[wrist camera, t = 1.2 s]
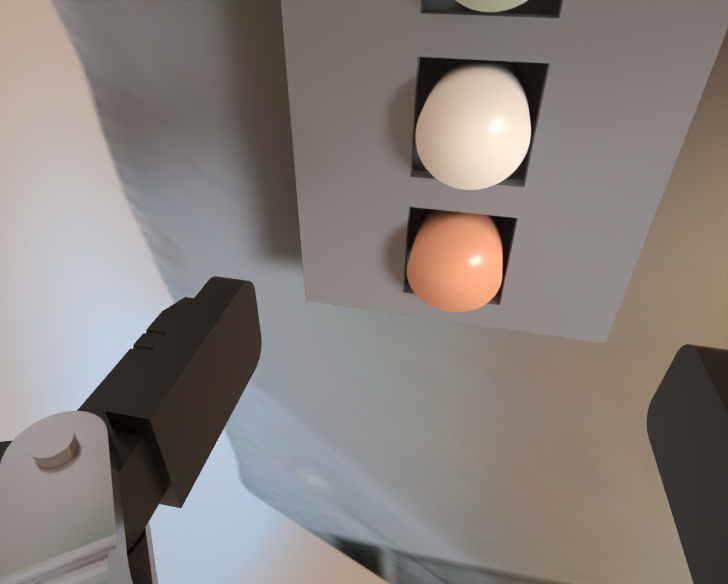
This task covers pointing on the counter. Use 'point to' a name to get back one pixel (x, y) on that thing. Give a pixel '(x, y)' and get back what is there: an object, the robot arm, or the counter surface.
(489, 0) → the sage button
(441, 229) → the terracotta button
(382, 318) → the counter surface
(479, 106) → the off-white button
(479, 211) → the button console
